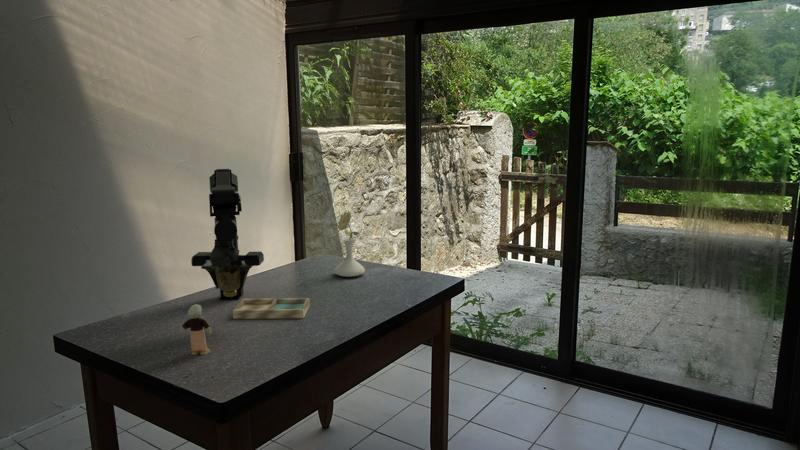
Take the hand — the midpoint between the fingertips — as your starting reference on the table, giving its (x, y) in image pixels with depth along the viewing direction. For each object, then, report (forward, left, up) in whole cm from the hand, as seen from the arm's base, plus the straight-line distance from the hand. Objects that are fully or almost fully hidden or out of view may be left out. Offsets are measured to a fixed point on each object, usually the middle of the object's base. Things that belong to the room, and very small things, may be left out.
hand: (230, 288), depth 158 cm
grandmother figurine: (-3, -19, -11) cm, 22 cm away
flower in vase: (+29, +51, -11) cm, 60 cm away
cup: (0, 0, -2) cm, 2 cm away
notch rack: (+9, +11, -11) cm, 18 cm away
